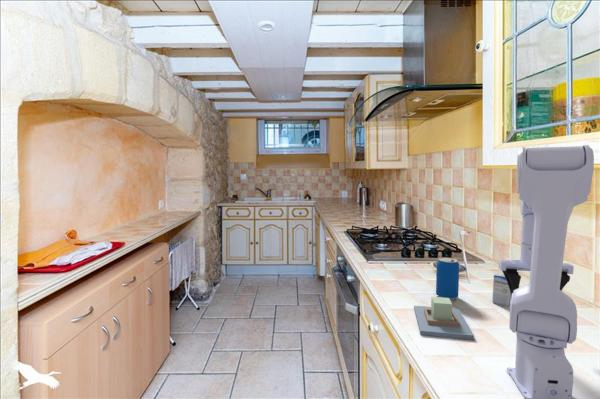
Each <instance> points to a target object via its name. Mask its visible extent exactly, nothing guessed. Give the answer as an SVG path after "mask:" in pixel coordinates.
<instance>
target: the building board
mask: <svg viewBox="0 0 600 399" xmlns="http://www.w3.org/2000/svg"><path fill="white" fill-rule="evenodd" d="M413 311H414V315H415V318H416V323H417V327H418V331H419V335H420V336H430V337H432V336H433V337H441V338H442V337H443V338H451V339H453V338H454V339H463V340H473V341H474V340H475V335H474V333H473V331H472V329H471V328H470V325H469V324H468V322H467V321H466V318H465V317H464V315H463V314H462V312H461V310H460V308H453V307H452V321H443V320H433V319H432V316H431V306H424V305H423V306H422V305H414V306H413Z"/></svg>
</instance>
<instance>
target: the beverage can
mask: <svg viewBox="0 0 600 399" xmlns="http://www.w3.org/2000/svg"><path fill="white" fill-rule="evenodd" d="M435 277H436V279H435V281H436V282H435V295H436V296H437V297H442V298H449V299H450V301H453V300H455V299H457V298H459V285H460V283H459V282H460V280H459V279H460V263H459V260H458V258H453V257H445V256H443V257H438V259H437V261H436V276H435Z"/></svg>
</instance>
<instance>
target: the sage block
mask: <svg viewBox="0 0 600 399" xmlns="http://www.w3.org/2000/svg"><path fill="white" fill-rule="evenodd" d="M430 302H431V304H430V307H431V316H432V319H433V320H443V321H452V308H453V303H452V300H450V299H449V298H442V297H439V296H431V301H430Z"/></svg>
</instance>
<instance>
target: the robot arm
mask: <svg viewBox="0 0 600 399" xmlns="http://www.w3.org/2000/svg"><path fill="white" fill-rule="evenodd" d="M594 166H595V155H594V150H593V149H592V147H590V146H589V145H588V144H583V145H582V146H581V145H579V146H577V145H575V146H551V147H549V146H548V147H547V146H546V147H525V146H522V147H521V148H520V149H519V150H518V151H517V163H516V182H517V185H516V186H517V194H518V196H519V197H518V199H519V200H520V208H519V210H520V214H521V217H522V218H521V220H522V221H521V237H520V238H521V240H520V259H509V260H504V259H503V260H501V259H500V260H498V270H502V272H503V274H504V276H505V278H506V280H507V283H508V285H509V289H510V293H511V301H510V305H509V323H508V324H509V325H508V326H509V328H508V329H510V331H511V332H512V333H514V334H516V343H515V344H516V345H515V346H516V348H515V364H514V365H515V367H507V368H506V371H507V372H508V374H509V376H510V378H511V379H512V381H513V382H514V384H515V385H516V387H517V388H518V390H519V391H520V393H521V394H522V397H523V398H524V399H575V398H574V397H573V387H574V385H573V383H574V368H573V366H572V364H571V362H570V361H569V359H568V358H567V356H566V352H565V349H567V348H568V344H570V345H571V344H573V343H574V342H575V341H576V339H577V334H578V310H577V305H576V303H575V301H574V299H573V298H572V297H571V296H569V294H567V293H565V292H563V289H564V288H565V286H566V285H567V284H568V283H569V282H570V280H571V276H570V275H574V270H575V269H574V265H573V264H571V263H567V262H566V263H564V258H565V256H564V255H565V249H566V248H565V247H566V241H567V240H566V239H567V232H568V224H569V221H570V219H571V218H570V217H571V215H572V213H573V210H574V208H575V207H577V206H579V205H581V204H584V203H587V202H588V197H589V195H590V194H591V190H592V189H591V188H592V182H593V177H594V176H593V175H594ZM520 271H521V272H530V273H529V283H527V284H526V285H524V286H520V283H521V278H522V276H521V275H520V274H519V272H520Z"/></svg>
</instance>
